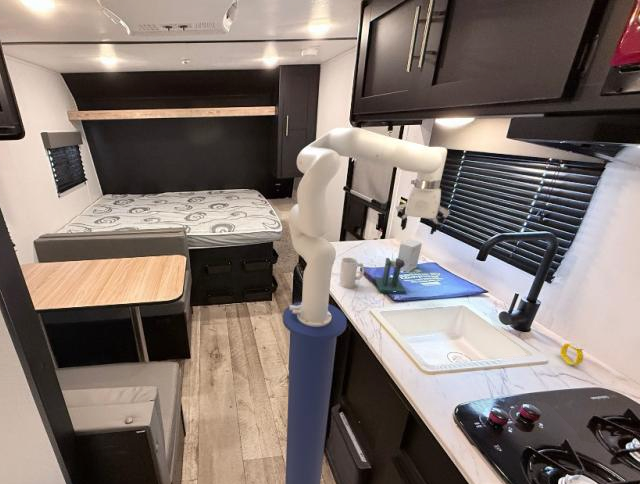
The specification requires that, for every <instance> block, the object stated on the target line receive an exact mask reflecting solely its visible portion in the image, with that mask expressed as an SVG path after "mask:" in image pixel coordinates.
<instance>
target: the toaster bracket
mask: <svg viewBox="0 0 640 484" xmlns="http://www.w3.org/2000/svg"><path fill="white" fill-rule="evenodd" d="M398 260H400V259H399V258H398V257H396V258H395V261H398ZM391 261H392V260H390V258H389V257H386V258H385V262H384V269H383V273H382V274H383V275H382V276H374V278H373V280H374V282H375V285H376V288H377V289H378V292H379V293H380V294H394V295H395V294H396V295H406V289H405V288H404V285H403V284H402V282H401V281H400V279H399V277H400V272H401V270H400V268H398V267H393V274H392V277H390V272H391V271H390V270H391V267H390V266H391ZM393 291H396V292H393Z"/></svg>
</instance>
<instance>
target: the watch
mask: <svg viewBox="0 0 640 484" xmlns="http://www.w3.org/2000/svg"><path fill="white" fill-rule="evenodd" d="M568 348H570V349H572V350H574V351H575V353H576V359H575V361H574V362H573V361H572V360H571V359H570V358H569V357H568V354H567V353H568ZM583 350H584V347H583V346H582V345H581V344H579V343H576V342H570V343H564V344H563V345H562V346H561V348H560V356H561V358H562V359H563V360H564V361H565V362H566V363H567V365H570V366H579V365H580V364H582V362H583V361H584V353H583Z"/></svg>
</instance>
